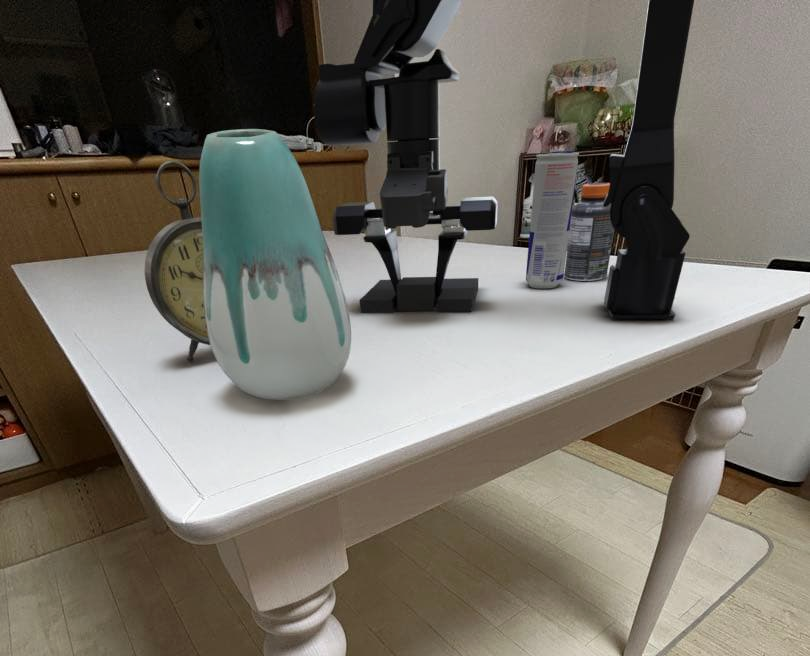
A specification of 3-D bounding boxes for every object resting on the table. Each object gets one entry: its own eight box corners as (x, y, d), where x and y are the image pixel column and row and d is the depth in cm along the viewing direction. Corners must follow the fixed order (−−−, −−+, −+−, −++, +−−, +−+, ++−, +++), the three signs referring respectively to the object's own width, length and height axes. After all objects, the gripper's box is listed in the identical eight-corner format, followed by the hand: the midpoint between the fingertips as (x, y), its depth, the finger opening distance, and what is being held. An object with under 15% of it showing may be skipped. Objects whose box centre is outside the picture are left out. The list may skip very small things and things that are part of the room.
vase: (337, 414, 40) (296, 118, 29) (200, 411, 42) (114, 132, 31) (369, 364, 49) (347, 124, 38) (255, 363, 51) (204, 134, 40)
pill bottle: (601, 272, 77) (617, 180, 70) (610, 281, 72) (627, 183, 65) (560, 274, 77) (572, 182, 70) (566, 282, 72) (579, 185, 66)
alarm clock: (182, 369, 51) (109, 168, 40) (169, 356, 54) (99, 168, 44) (284, 342, 55) (241, 153, 45) (266, 331, 58) (222, 154, 48)
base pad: (478, 289, 72) (478, 277, 71) (471, 312, 62) (471, 298, 61) (381, 291, 74) (380, 279, 73) (360, 312, 65) (359, 299, 64)
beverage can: (564, 281, 73) (581, 149, 64) (560, 290, 69) (577, 150, 60) (527, 281, 74) (539, 152, 65) (522, 289, 70) (533, 153, 61)
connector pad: (438, 301, 67) (438, 276, 65) (433, 310, 63) (433, 284, 62) (404, 302, 68) (403, 277, 66) (397, 311, 64) (396, 285, 62)
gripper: (307, 146, 51) (329, 313, 60) (497, 134, 48) (489, 312, 57) (338, 145, 59) (353, 291, 69) (501, 135, 56) (493, 289, 66)
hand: (418, 296), depth 65 cm, fingers closed on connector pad, 5 cm apart
